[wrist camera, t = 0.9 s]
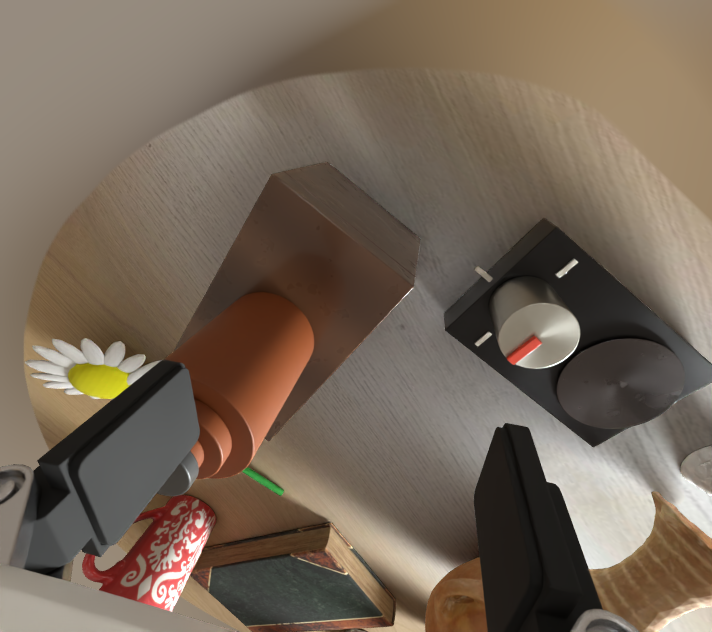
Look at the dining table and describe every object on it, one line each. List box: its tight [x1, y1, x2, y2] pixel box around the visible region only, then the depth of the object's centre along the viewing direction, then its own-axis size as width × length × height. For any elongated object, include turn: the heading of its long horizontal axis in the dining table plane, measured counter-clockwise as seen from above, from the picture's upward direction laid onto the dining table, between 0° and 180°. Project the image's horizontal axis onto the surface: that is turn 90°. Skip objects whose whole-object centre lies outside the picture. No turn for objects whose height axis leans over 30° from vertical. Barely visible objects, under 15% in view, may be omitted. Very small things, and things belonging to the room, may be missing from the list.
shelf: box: [173, 162, 421, 441], centre depth 26 cm, size 16×9×10 cm, turn 143°
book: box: [190, 523, 396, 632], centre depth 51 cm, size 17×4×25 cm
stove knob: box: [489, 276, 580, 369], centre depth 22 cm, size 4×4×5 cm
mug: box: [82, 495, 216, 612], centre depth 44 cm, size 13×9×14 cm
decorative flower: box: [25, 338, 284, 496], centre depth 39 cm, size 13×5×30 cm
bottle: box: [157, 292, 314, 496], centre depth 17 cm, size 6×6×10 cm
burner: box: [556, 337, 685, 429], centre depth 26 cm, size 8×8×1 cm
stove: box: [444, 218, 712, 447], centre depth 26 cm, size 10×18×3 cm, turn 54°
